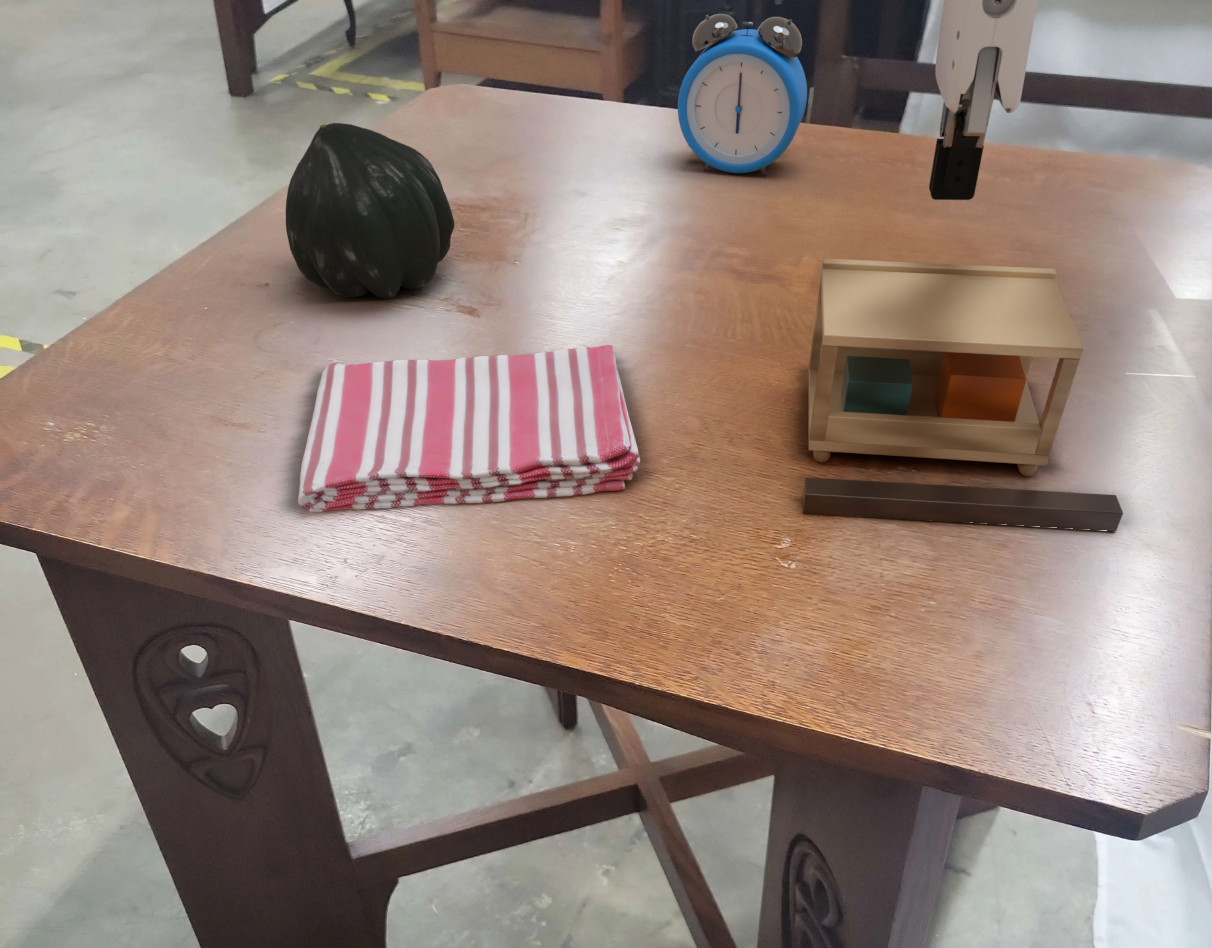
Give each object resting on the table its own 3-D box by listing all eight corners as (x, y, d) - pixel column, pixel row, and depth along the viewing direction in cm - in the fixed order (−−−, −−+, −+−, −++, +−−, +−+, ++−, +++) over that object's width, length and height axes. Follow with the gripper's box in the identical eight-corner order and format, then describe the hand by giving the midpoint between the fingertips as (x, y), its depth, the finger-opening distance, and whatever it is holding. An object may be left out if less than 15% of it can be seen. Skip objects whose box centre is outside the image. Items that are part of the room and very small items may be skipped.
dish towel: (643, 492, 72) (643, 449, 70) (297, 518, 71) (286, 475, 68) (615, 368, 85) (614, 328, 83) (321, 388, 83) (312, 347, 81)
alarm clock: (674, 171, 117) (678, 20, 107) (687, 152, 122) (692, 5, 112) (792, 181, 114) (808, 27, 104) (801, 161, 119) (816, 12, 109)
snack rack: (1018, 398, 81) (1055, 268, 74) (1042, 480, 73) (1085, 342, 66) (806, 386, 82) (822, 257, 75) (806, 464, 74) (824, 328, 67)
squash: (483, 185, 100) (355, 62, 92) (481, 258, 89) (336, 126, 81) (385, 283, 106) (258, 176, 98) (373, 363, 95) (228, 249, 87)
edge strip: (1108, 514, 70) (1116, 494, 69) (1116, 532, 68) (1123, 512, 67) (802, 496, 72) (804, 476, 71) (802, 513, 70) (805, 494, 69)
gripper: (1084, -63, 63) (1017, 236, 76) (1039, -106, 74) (986, 161, 87) (956, -61, 64) (909, 234, 77) (930, -103, 75) (893, 161, 88)
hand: (950, 195), depth 82 cm, fingers closed
